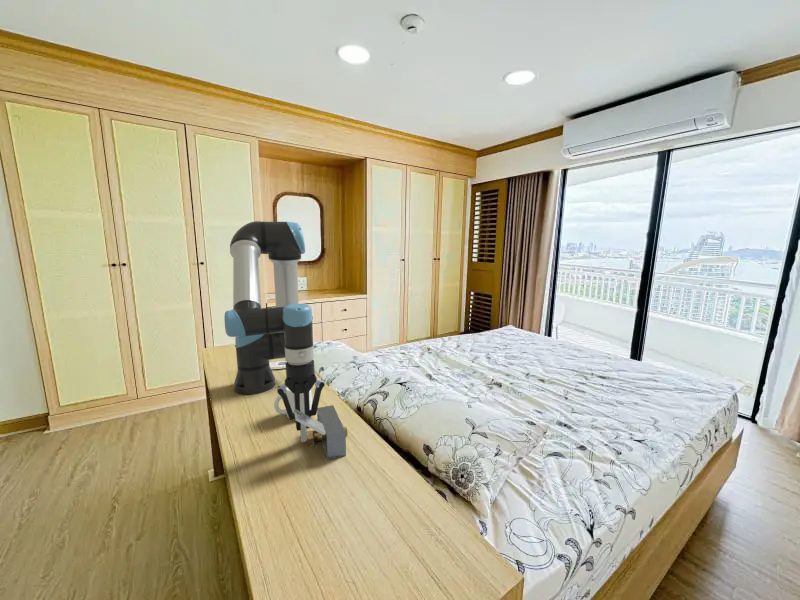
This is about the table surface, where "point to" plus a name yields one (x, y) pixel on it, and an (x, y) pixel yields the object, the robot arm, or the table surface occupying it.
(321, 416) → the block
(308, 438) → the lynch pin
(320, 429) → the tab
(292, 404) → the mug
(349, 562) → the table surface
